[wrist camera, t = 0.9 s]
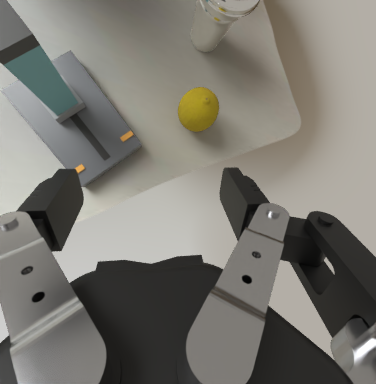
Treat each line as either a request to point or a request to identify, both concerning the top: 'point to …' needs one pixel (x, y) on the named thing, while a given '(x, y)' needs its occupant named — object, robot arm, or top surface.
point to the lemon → (198, 109)
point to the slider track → (78, 124)
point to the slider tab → (34, 66)
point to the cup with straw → (216, 20)
